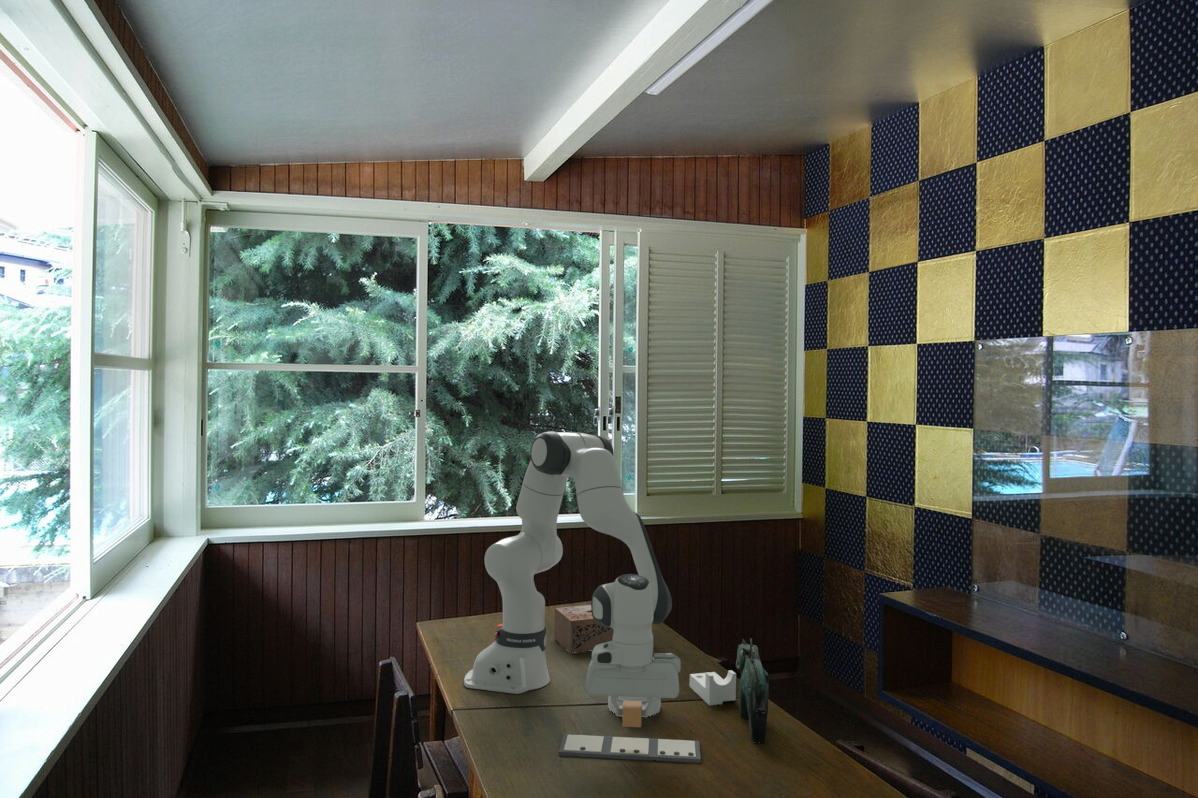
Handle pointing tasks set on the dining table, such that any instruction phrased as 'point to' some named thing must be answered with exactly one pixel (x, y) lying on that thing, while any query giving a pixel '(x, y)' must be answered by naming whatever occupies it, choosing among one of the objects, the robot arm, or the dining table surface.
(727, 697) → the bracket
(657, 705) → the honey pot
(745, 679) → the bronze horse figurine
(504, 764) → the dining table surface
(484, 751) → the dining table surface
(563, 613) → the tissue box cover
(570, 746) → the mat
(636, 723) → the block
